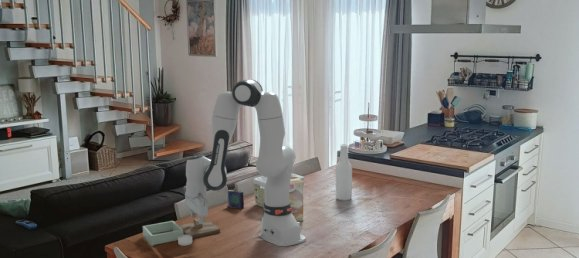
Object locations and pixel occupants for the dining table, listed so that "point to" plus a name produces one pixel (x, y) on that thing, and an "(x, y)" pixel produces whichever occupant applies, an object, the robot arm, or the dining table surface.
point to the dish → (162, 237)
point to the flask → (235, 198)
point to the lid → (199, 228)
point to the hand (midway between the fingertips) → (196, 220)
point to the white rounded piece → (185, 240)
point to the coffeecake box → (296, 198)
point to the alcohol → (344, 175)
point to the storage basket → (260, 184)
